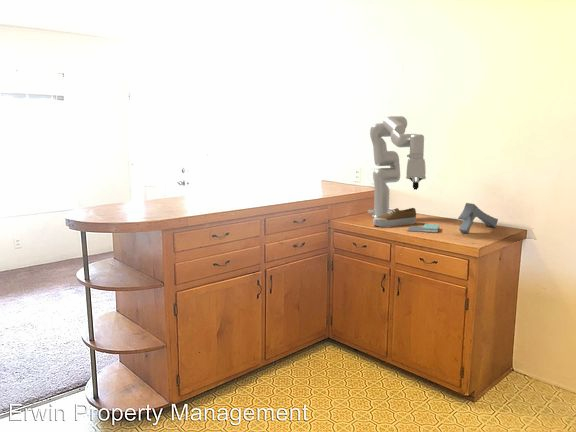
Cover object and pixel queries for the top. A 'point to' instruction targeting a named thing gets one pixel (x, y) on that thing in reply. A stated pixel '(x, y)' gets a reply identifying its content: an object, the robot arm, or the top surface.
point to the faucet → (469, 216)
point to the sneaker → (396, 218)
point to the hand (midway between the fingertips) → (415, 189)
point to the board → (430, 228)
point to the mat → (417, 229)
